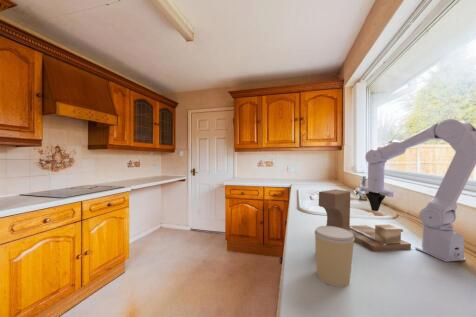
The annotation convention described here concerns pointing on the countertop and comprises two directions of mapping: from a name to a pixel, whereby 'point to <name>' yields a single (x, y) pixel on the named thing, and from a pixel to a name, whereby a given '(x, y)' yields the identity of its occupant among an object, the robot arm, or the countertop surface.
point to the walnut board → (373, 244)
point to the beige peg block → (388, 233)
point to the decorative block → (336, 207)
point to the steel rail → (368, 236)
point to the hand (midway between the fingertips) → (374, 210)
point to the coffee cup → (334, 255)
